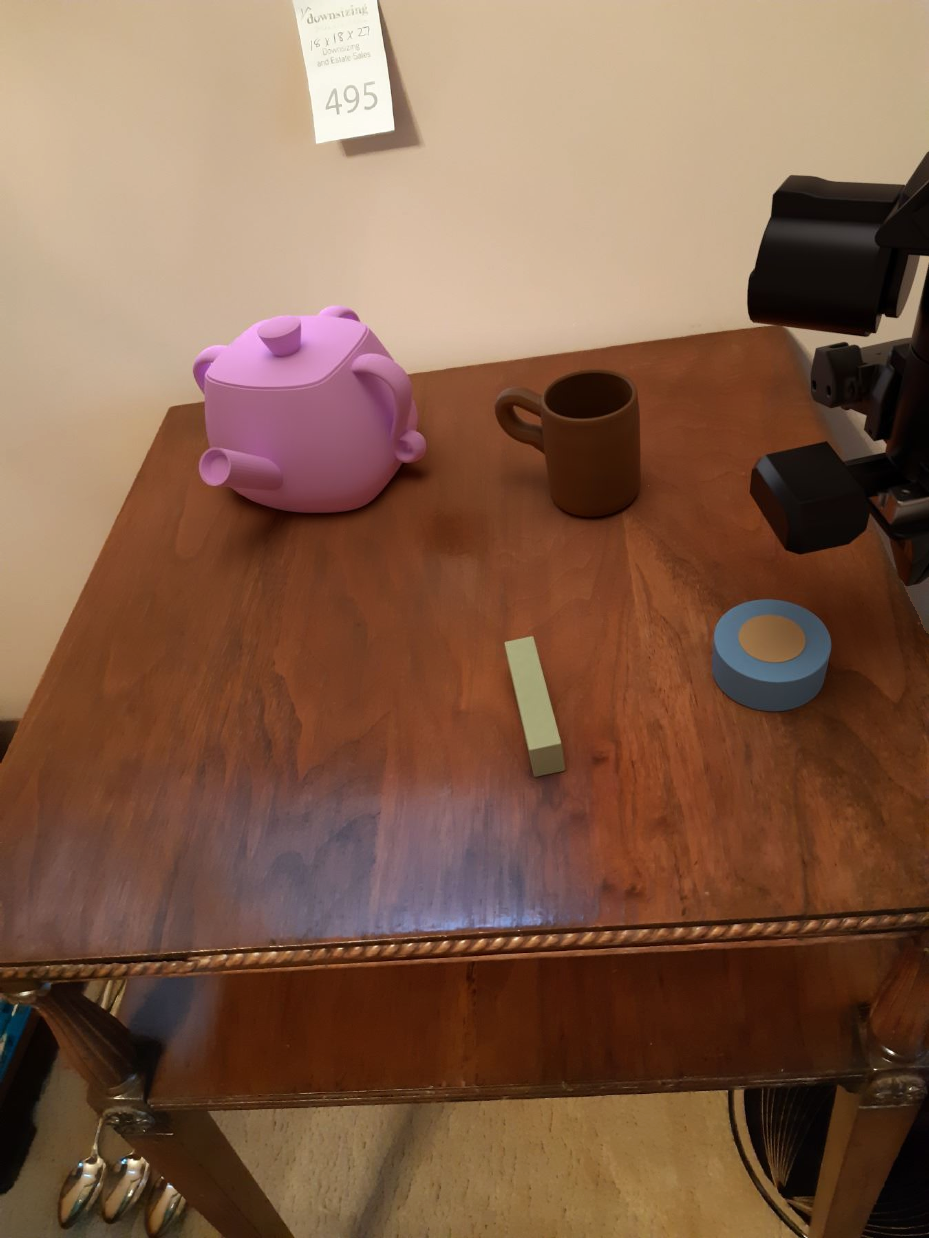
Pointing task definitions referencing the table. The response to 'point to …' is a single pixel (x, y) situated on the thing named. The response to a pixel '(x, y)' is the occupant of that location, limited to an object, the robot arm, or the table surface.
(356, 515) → the table surface
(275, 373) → the teapot
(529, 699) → the stop block
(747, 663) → the tape roll
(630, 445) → the mug
